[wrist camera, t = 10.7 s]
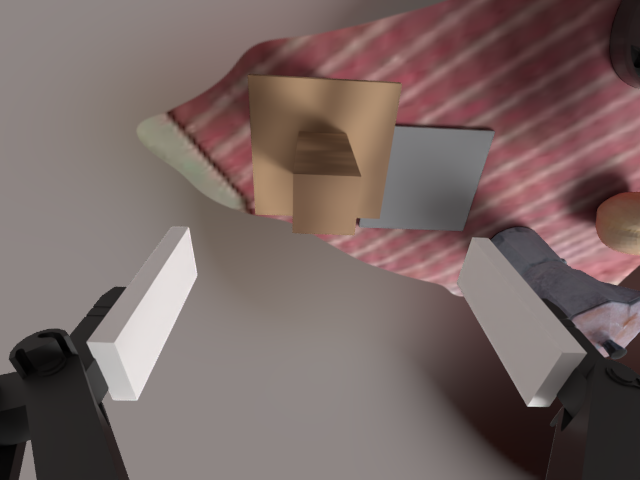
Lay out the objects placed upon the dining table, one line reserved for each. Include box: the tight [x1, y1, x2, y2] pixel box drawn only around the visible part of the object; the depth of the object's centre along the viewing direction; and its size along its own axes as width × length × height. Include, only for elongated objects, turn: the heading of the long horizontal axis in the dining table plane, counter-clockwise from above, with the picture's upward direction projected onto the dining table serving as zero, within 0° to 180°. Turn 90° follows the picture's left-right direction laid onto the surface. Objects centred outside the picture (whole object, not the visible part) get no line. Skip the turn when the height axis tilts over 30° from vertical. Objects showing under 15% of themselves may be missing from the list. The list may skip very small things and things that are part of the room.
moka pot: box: [490, 227, 640, 359], centre depth 42 cm, size 10×15×20 cm, turn 149°
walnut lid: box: [248, 74, 402, 235], centre depth 25 cm, size 12×12×11 cm
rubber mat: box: [359, 126, 495, 231], centre depth 44 cm, size 15×14×1 cm
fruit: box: [596, 192, 640, 255], centre depth 44 cm, size 8×8×8 cm
